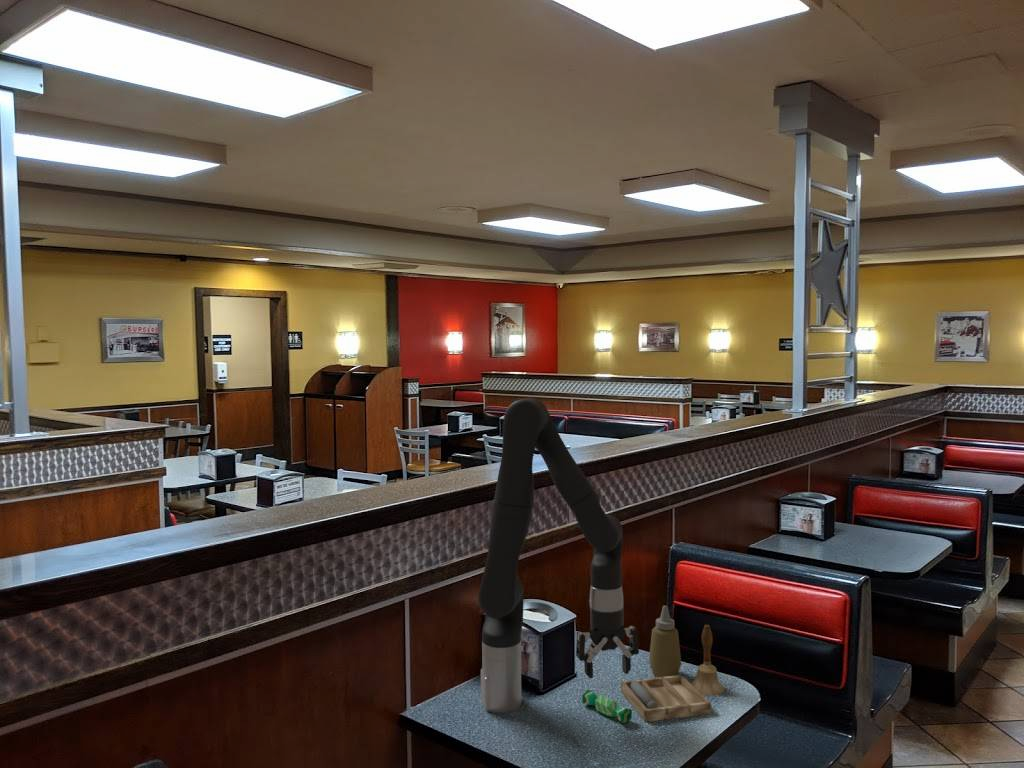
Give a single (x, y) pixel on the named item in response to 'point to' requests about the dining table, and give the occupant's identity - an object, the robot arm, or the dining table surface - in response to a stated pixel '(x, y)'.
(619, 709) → the candy
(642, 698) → the grey capsule rod
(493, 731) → the dining table surface
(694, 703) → the wooden compartment tray
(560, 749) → the dining table surface
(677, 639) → the squeeze bottle
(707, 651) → the hand bell
